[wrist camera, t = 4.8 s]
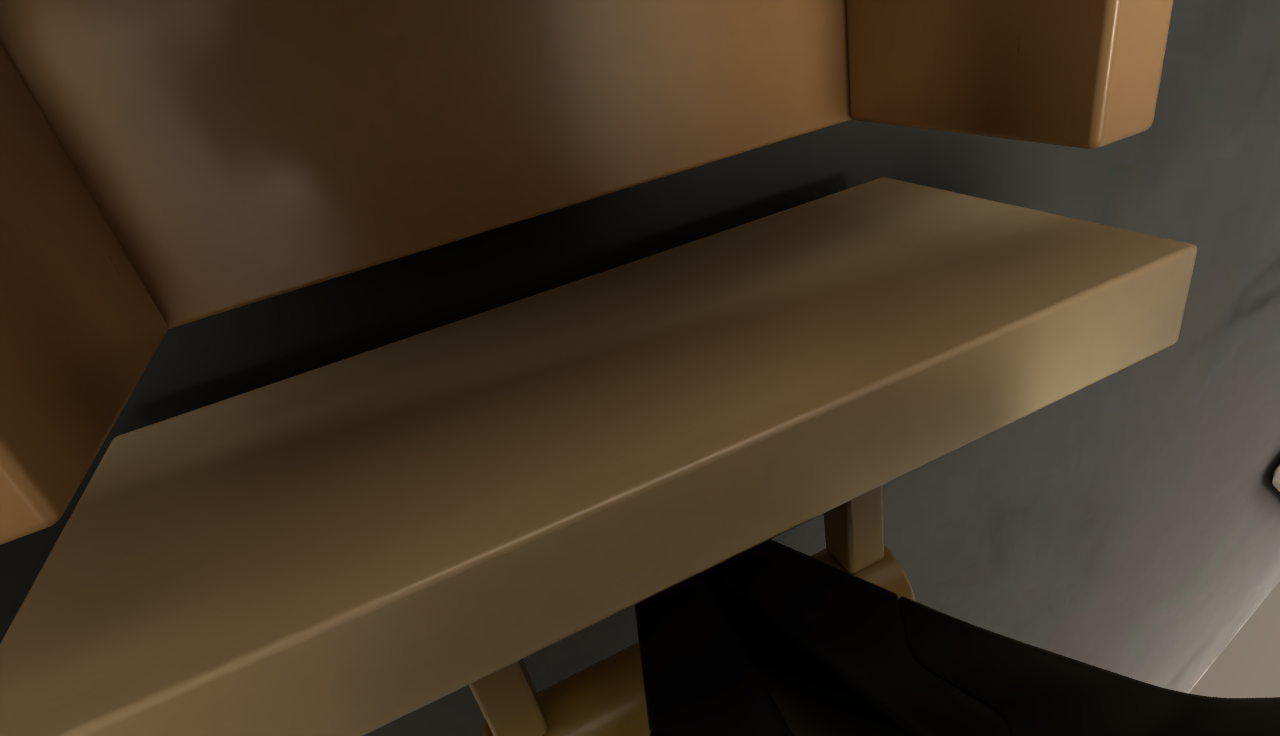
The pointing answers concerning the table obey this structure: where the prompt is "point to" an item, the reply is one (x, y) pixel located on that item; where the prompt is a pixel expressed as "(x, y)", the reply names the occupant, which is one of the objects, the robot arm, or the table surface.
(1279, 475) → the pepper shaker
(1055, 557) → the table surface
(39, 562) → the table surface
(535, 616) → the drawer
